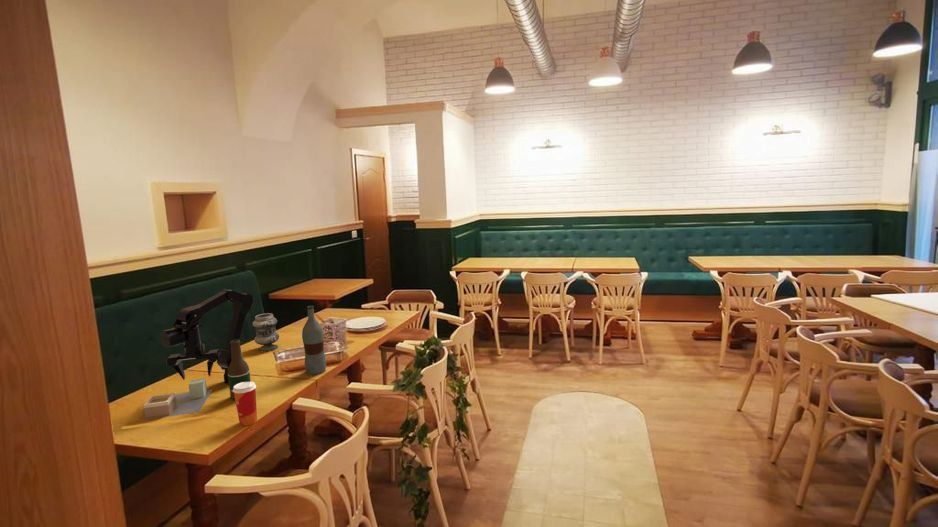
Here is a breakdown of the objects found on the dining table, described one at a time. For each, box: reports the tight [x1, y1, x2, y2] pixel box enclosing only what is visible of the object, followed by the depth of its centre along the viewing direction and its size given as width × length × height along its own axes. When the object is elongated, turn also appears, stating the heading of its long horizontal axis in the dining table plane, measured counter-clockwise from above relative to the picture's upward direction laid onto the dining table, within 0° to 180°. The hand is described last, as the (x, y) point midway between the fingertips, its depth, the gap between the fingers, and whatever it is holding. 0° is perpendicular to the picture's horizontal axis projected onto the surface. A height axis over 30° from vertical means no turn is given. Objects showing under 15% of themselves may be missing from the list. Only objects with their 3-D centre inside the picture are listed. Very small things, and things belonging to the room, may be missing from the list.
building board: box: [143, 389, 214, 421], centre depth 194 cm, size 18×22×6 cm
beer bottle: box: [228, 339, 252, 401], centre depth 197 cm, size 8×8×24 cm
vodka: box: [301, 305, 327, 375], centre depth 223 cm, size 9×9×30 cm
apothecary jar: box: [252, 312, 280, 353], centre depth 259 cm, size 12×12×18 cm
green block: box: [188, 377, 208, 399], centre depth 201 cm, size 5×5×6 cm
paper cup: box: [233, 381, 258, 427], centre depth 177 cm, size 8×8×14 cm
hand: (197, 377), depth 200 cm, fingers open, 9 cm apart
